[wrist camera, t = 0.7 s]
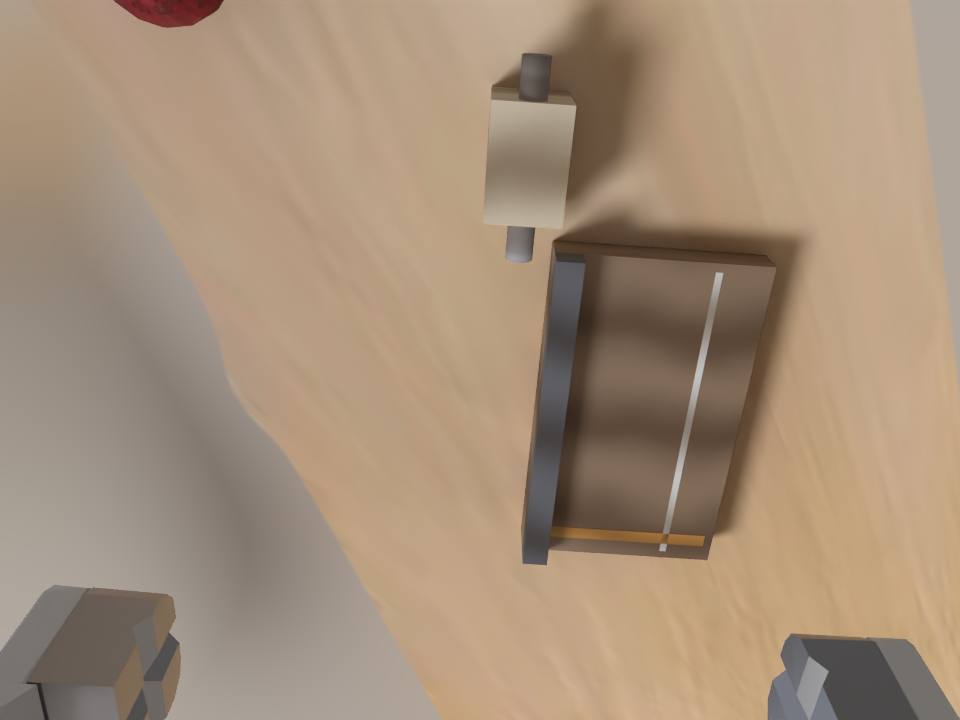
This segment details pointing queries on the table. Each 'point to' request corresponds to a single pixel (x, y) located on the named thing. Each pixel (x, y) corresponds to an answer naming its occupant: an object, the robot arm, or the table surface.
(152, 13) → the onion
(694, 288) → the board
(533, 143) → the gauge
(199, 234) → the table surface
